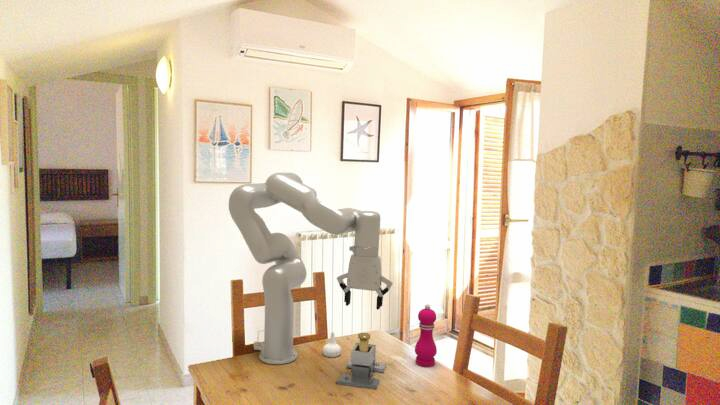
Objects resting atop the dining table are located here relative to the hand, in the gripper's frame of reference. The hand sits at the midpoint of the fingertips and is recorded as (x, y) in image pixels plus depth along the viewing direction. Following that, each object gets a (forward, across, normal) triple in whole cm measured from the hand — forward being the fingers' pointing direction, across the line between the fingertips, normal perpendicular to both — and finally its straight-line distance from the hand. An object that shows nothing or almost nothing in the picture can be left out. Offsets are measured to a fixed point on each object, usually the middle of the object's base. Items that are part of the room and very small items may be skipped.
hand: (363, 306), depth 151 cm
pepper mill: (+22, +19, +15) cm, 32 cm away
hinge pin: (+22, +1, 0) cm, 22 cm away
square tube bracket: (+22, +1, +2) cm, 22 cm away
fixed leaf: (+22, +1, -3) cm, 22 cm away
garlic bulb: (+22, -13, +13) cm, 29 cm away
